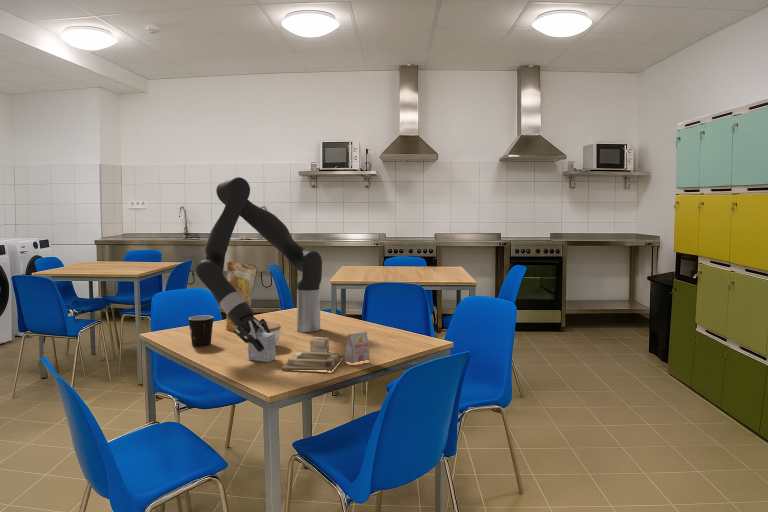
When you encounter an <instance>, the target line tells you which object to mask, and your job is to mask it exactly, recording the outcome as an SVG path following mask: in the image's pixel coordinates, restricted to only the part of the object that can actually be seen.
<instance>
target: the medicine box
mask: <svg viewBox="0 0 768 512" xmlns="http://www.w3.org/2000/svg"><path fill="white" fill-rule="evenodd" d="M255 335H256V337H257V339H258V340H259V341H260V342H261V344H262V345H263V346H264V349H263V350H262V351H261V352H259V351H258V350H257V349H256V348H255V347H254V345H253V344H251V343H249V342H248V343H247V344H248V345H247V346H248V347H247V349H248V360H249V361H255V362H262V363H270V362H272V361H274V360H276V358H277V357H276V355H277V354H276V344H275V334H272V333H264V332H255ZM251 337H252V336H251Z"/></svg>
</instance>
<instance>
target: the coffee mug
mask: <svg viewBox="0 0 768 512" xmlns="http://www.w3.org/2000/svg"><path fill="white" fill-rule="evenodd" d="M188 326H189V332H190V339H191V346H192V347H194V346H195V348H196V347H197V348H203V347H209V346H211V345H210V344H212V335H213V327H214V316H212V315H209V314H208V315H206V314H205V315H204V314H201V315H193V316H190V317H188Z"/></svg>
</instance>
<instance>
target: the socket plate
mask: <svg viewBox="0 0 768 512" xmlns="http://www.w3.org/2000/svg"><path fill="white" fill-rule="evenodd" d="M343 357H344V358H345V355H344V354H343V355H340V353H336V352H328V353H322V352H310V351H302V350H301V351H300V350H298V351H296V352H295V353H294V354H293V355H292V356H290V357H289V358H288V359H287V362H286V363H285V364H284V365H282V366H281V368H280V369H281V371H282V370H327V371H329V370H330V371H332V370H333V369H334V368H335V367H336V366H337V364H338V363H339V362H340V361H341V359H342V358H343Z"/></svg>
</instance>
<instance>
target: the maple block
mask: <svg viewBox="0 0 768 512" xmlns="http://www.w3.org/2000/svg"><path fill="white" fill-rule="evenodd" d="M309 342H310V343H309V346H310V348H309V352H322V353H326V352H328V351H329V352H330V338H329V337H321V336H315V337H313V338H312V339H310V340H309ZM329 352H328V353H329Z"/></svg>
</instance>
